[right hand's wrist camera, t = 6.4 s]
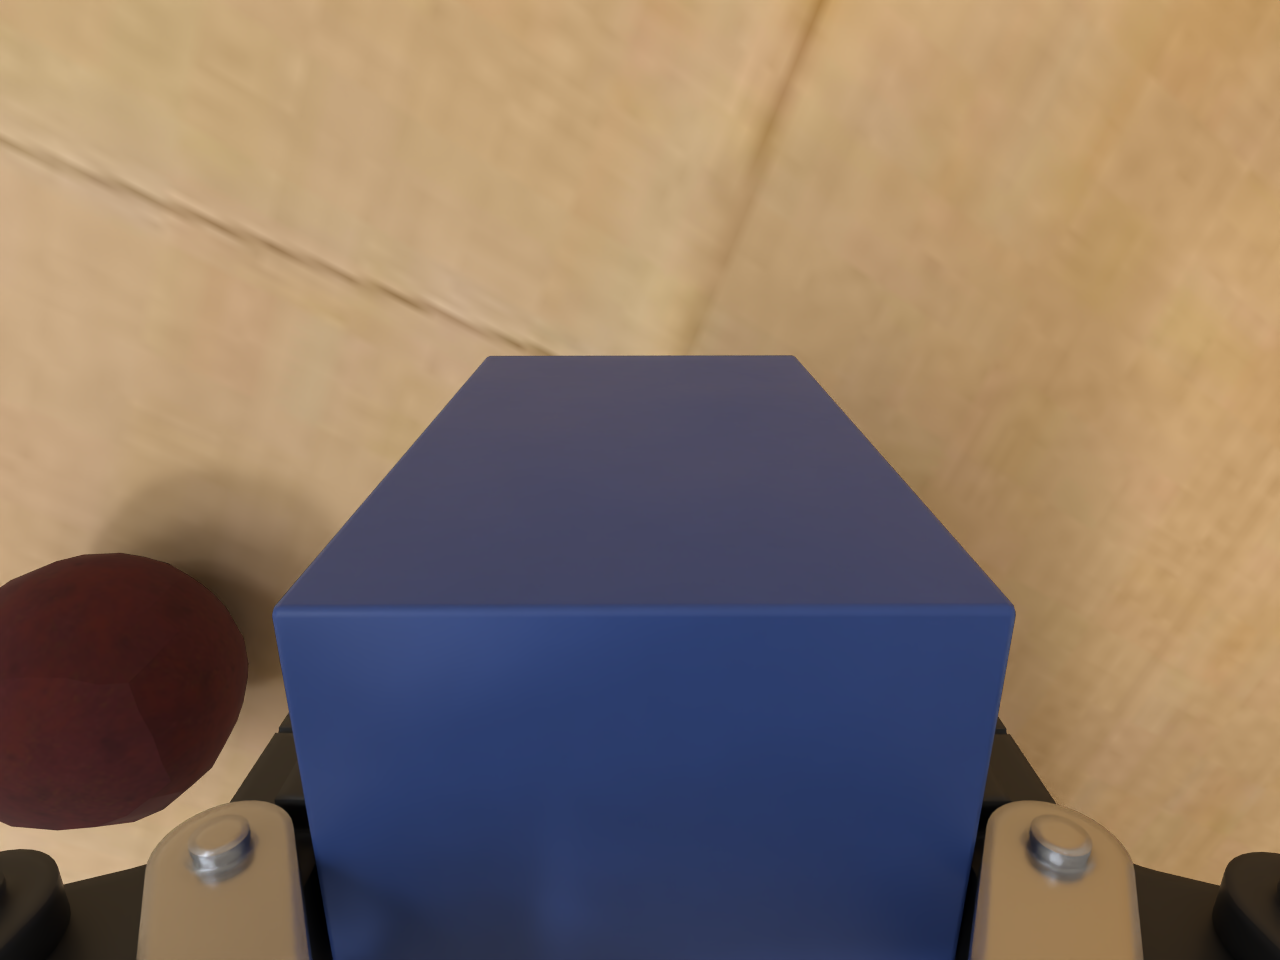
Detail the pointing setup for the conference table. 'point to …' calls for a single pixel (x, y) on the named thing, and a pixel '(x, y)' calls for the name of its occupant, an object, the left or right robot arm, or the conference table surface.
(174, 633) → the dark red ball
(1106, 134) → the conference table surface
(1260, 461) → the conference table surface
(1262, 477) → the conference table surface
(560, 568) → the box
